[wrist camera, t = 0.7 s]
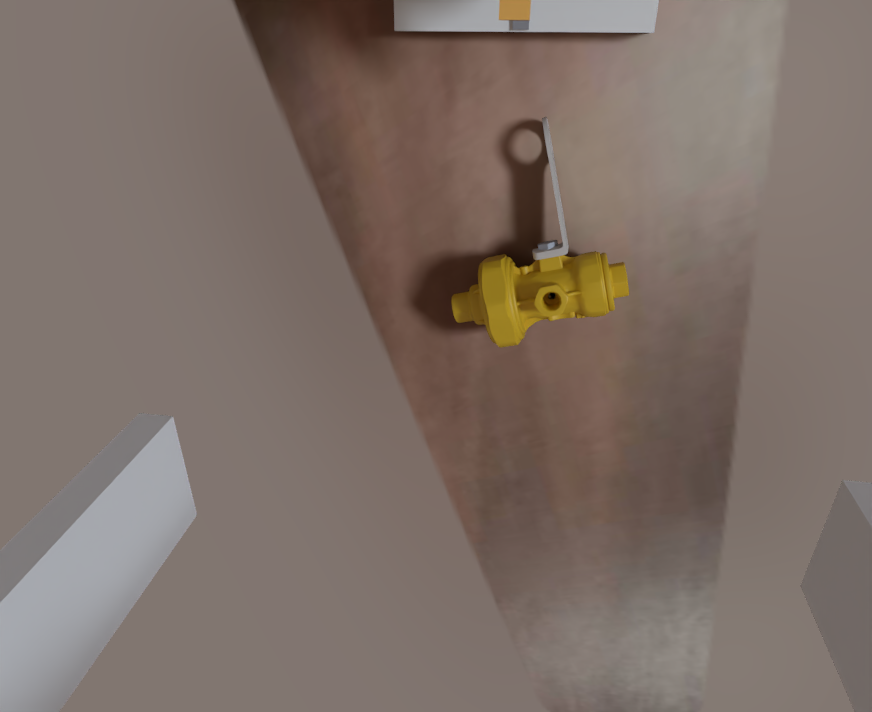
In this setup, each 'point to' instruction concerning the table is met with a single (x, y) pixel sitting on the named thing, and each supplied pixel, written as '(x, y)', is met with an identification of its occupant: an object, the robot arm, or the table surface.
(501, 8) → the cap
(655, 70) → the table surface
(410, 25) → the base
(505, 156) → the table surface
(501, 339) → the pressure relief valve
